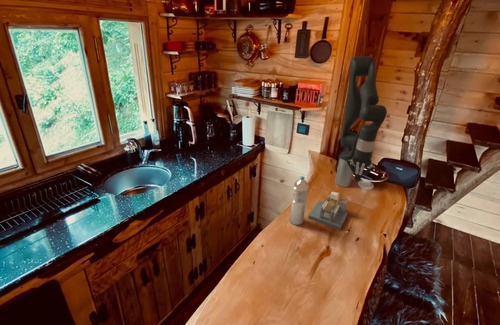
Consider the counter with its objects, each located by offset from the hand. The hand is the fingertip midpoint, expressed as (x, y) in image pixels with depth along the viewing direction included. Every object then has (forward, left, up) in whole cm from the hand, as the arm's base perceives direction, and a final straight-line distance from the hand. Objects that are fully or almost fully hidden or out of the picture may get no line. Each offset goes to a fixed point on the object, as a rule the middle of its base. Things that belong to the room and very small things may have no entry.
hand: (357, 180), depth 134 cm
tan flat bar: (+8, -8, -14) cm, 18 cm away
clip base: (+8, -8, -20) cm, 23 cm away
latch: (+2, -9, -12) cm, 15 cm away
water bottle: (+21, -20, -20) cm, 36 cm away
